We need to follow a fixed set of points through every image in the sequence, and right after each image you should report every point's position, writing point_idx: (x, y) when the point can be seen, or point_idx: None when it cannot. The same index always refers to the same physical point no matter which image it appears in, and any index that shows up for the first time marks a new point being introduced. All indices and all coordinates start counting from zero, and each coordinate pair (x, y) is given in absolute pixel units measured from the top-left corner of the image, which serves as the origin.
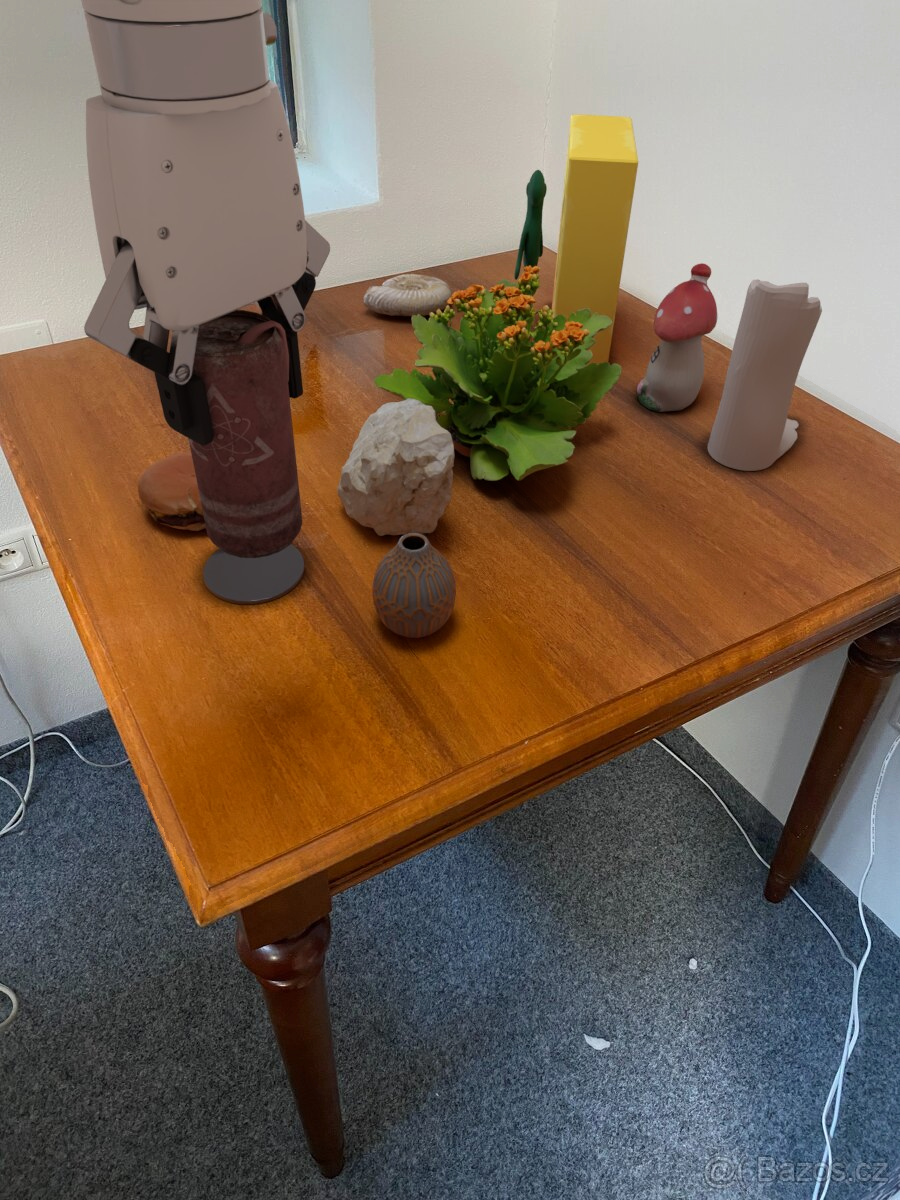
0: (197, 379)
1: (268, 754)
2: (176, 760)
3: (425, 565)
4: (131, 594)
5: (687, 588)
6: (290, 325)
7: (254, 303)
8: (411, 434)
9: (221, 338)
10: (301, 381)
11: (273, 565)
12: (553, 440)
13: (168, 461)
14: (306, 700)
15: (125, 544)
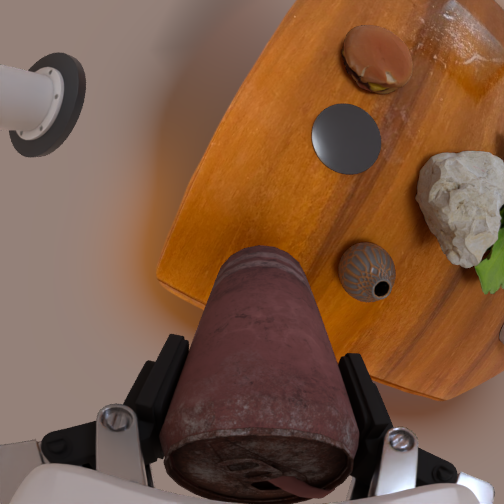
0: (158, 455)
1: (225, 251)
2: (192, 211)
3: (370, 298)
4: (279, 82)
5: (426, 357)
6: (351, 481)
7: (379, 461)
8: (472, 239)
9: (240, 477)
10: None
11: (356, 149)
12: (500, 277)
13: (382, 35)
14: (269, 244)
15: (314, 46)
